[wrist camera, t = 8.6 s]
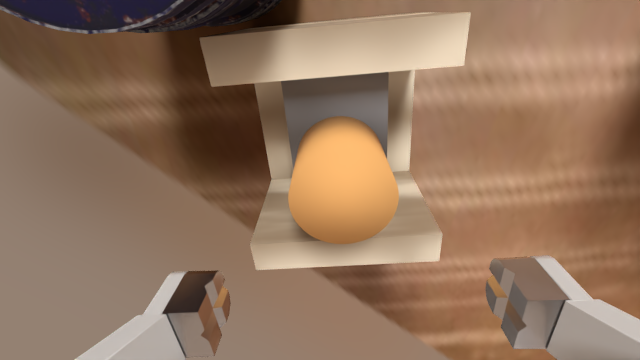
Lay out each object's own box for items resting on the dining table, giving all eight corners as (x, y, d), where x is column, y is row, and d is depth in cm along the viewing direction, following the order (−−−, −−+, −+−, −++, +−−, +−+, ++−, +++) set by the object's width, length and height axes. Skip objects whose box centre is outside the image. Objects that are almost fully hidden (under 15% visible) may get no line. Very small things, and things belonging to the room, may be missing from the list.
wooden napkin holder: (402, 180, 27) (439, 261, 18) (278, 188, 28) (256, 270, 19) (410, 12, 21) (470, 12, 12) (251, 28, 22) (199, 37, 13)
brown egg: (382, 112, 16) (400, 145, 12) (381, 190, 18) (397, 241, 14) (292, 119, 16) (280, 154, 12) (302, 196, 18) (295, 246, 14)
